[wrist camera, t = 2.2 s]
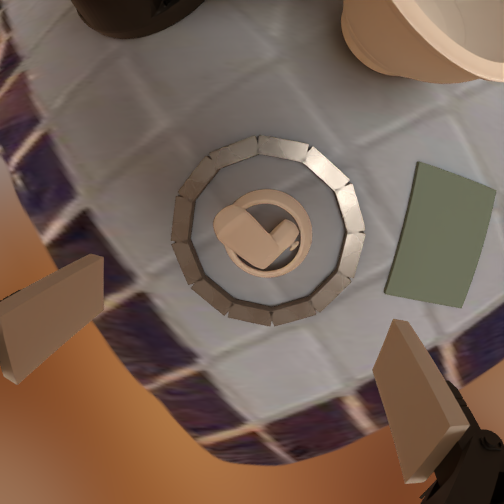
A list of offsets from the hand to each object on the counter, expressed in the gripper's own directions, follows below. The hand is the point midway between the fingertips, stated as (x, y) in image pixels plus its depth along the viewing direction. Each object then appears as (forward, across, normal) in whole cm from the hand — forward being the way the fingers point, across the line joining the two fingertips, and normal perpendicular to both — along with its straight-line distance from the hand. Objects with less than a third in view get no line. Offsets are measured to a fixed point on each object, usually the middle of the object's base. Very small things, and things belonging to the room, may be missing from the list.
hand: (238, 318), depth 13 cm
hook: (+15, 0, 0) cm, 15 cm away
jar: (+14, +7, +20) cm, 26 cm away
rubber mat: (+15, +16, +4) cm, 22 cm away
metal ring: (+15, 0, 0) cm, 15 cm away
